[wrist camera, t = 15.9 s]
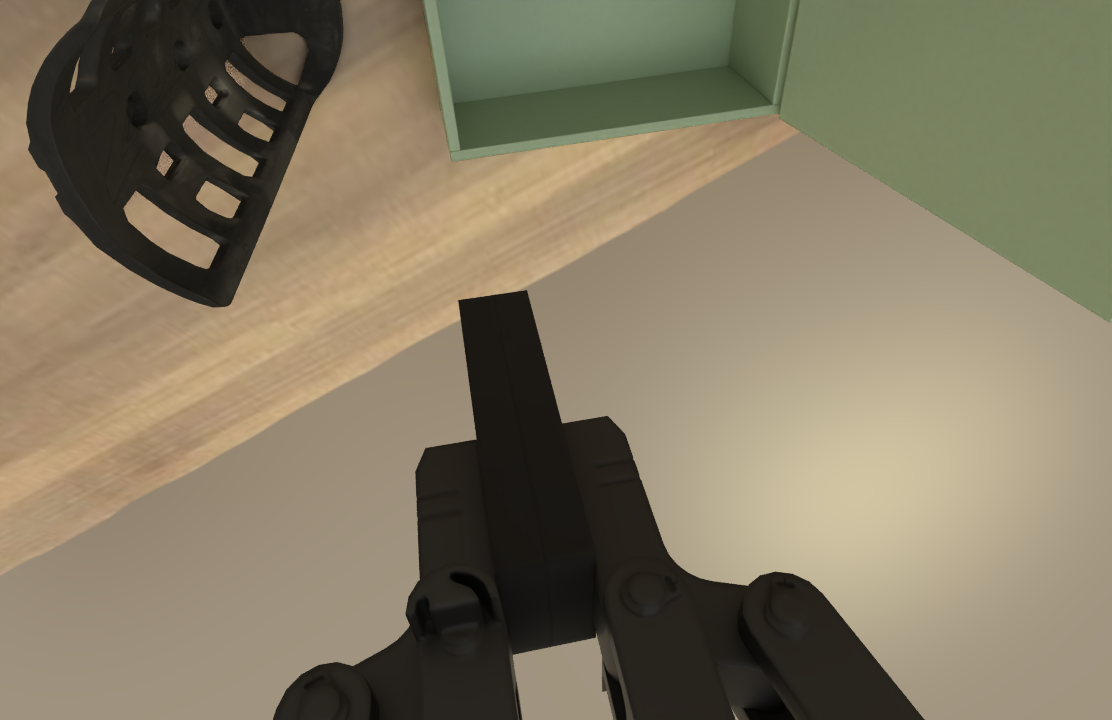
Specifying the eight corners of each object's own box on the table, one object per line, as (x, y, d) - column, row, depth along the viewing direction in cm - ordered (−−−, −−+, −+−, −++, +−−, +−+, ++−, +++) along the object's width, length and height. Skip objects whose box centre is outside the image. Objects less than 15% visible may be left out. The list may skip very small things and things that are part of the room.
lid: (1109, 323, 24) (1125, 317, 25) (1446, -171, 15) (1468, -174, 15) (778, 118, 38) (789, 115, 38) (836, -206, 28) (852, -208, 29)
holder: (378, 83, 39) (332, 287, 25) (259, 116, 40) (146, 334, 25) (285, -144, 32) (141, -41, 17) (139, -99, 32) (-120, 38, 18)
